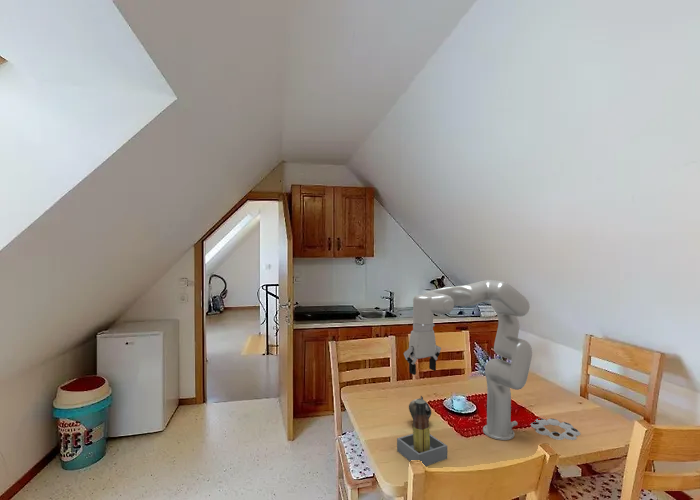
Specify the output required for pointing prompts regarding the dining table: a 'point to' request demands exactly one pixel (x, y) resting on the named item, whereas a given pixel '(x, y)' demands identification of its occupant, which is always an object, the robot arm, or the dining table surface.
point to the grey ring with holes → (555, 422)
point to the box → (428, 457)
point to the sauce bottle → (421, 428)
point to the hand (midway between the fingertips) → (422, 371)
